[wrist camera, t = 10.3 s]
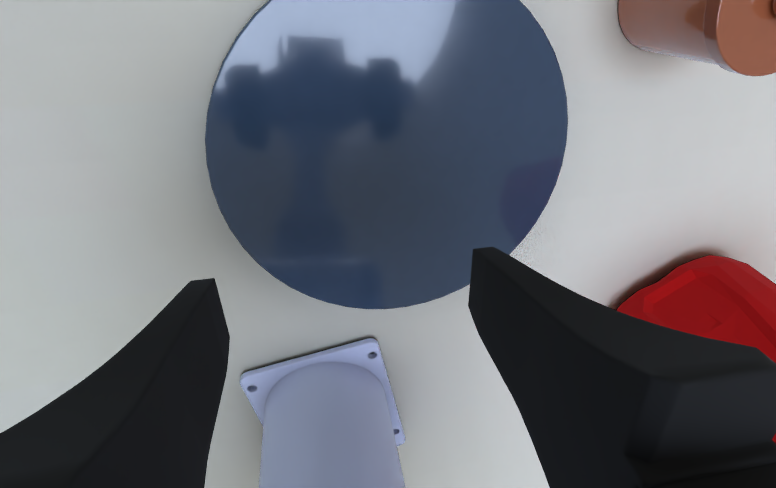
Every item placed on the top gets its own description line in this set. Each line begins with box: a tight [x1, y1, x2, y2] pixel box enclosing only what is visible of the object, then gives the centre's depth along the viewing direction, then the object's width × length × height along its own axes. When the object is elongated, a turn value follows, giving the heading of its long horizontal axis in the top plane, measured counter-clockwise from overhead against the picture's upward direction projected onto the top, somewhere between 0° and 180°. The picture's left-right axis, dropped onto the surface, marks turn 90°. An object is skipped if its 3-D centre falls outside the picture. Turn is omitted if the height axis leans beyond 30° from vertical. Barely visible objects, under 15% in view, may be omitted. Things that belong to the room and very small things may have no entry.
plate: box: [205, 0, 568, 309], centre depth 21 cm, size 16×16×1 cm
